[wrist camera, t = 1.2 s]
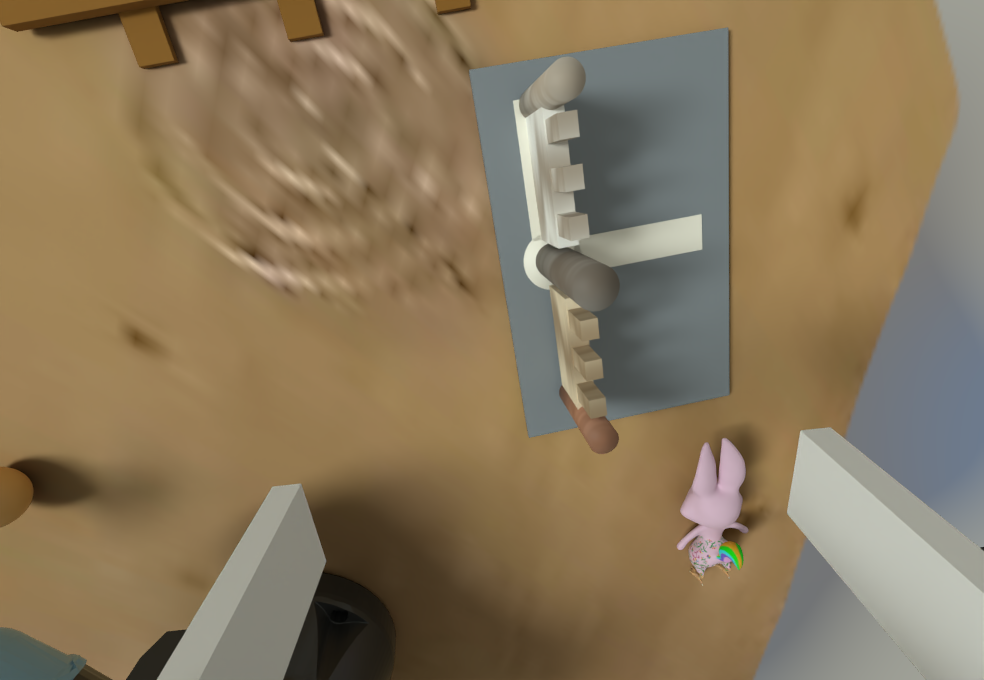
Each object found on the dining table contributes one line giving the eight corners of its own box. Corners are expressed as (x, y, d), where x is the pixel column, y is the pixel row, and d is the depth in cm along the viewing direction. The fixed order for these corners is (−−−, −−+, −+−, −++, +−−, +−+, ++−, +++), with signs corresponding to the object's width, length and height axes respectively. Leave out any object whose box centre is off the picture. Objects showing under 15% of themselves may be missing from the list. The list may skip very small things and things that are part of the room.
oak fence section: (544, 286, 32) (574, 312, 25) (570, 281, 32) (606, 306, 25) (560, 404, 35) (590, 456, 28) (584, 399, 35) (619, 450, 28)
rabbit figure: (728, 543, 44) (741, 417, 37) (771, 603, 39) (795, 470, 32) (664, 559, 44) (664, 436, 37) (698, 622, 39) (706, 493, 32)
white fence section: (572, 274, 33) (621, 306, 24) (537, 280, 32) (575, 315, 24) (550, 85, 29) (600, 43, 20) (511, 91, 29) (545, 53, 20)
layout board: (726, 392, 37) (730, 395, 37) (528, 434, 36) (529, 438, 36) (724, 29, 29) (729, 27, 29) (468, 71, 28) (469, 69, 28)
